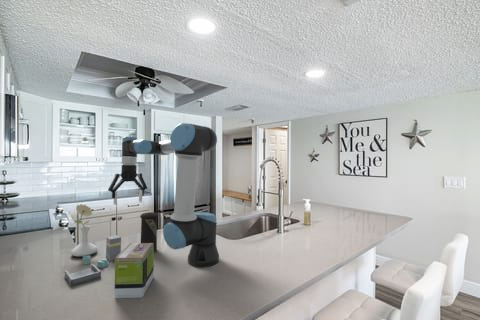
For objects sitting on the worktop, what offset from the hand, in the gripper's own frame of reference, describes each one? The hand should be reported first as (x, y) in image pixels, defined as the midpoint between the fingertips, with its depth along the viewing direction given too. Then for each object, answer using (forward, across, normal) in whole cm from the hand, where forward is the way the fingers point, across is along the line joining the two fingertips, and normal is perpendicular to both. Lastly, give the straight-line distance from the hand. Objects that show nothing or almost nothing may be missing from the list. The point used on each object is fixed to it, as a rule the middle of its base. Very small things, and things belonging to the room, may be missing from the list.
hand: (128, 203), depth 135 cm
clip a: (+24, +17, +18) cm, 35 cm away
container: (+24, -6, +13) cm, 28 cm away
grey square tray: (+24, +26, +23) cm, 42 cm away
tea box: (+24, +14, +46) cm, 54 cm away
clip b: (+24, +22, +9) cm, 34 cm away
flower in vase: (+24, +20, -3) cm, 32 cm away
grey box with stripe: (+24, +10, +11) cm, 28 cm away
